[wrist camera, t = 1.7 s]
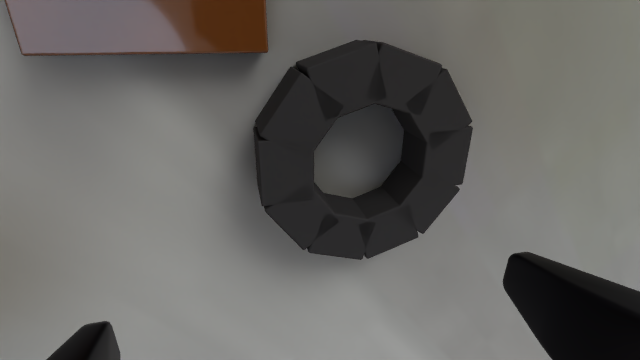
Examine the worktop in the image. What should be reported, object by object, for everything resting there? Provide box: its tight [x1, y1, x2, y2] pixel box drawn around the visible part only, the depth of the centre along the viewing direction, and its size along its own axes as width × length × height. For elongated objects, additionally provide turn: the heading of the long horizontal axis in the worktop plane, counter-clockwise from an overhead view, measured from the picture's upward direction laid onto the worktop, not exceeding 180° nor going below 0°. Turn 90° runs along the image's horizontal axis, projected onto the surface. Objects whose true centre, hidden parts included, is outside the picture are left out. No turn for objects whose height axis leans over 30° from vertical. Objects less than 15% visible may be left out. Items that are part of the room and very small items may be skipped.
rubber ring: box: [253, 40, 473, 260], centre depth 16 cm, size 9×10×2 cm
